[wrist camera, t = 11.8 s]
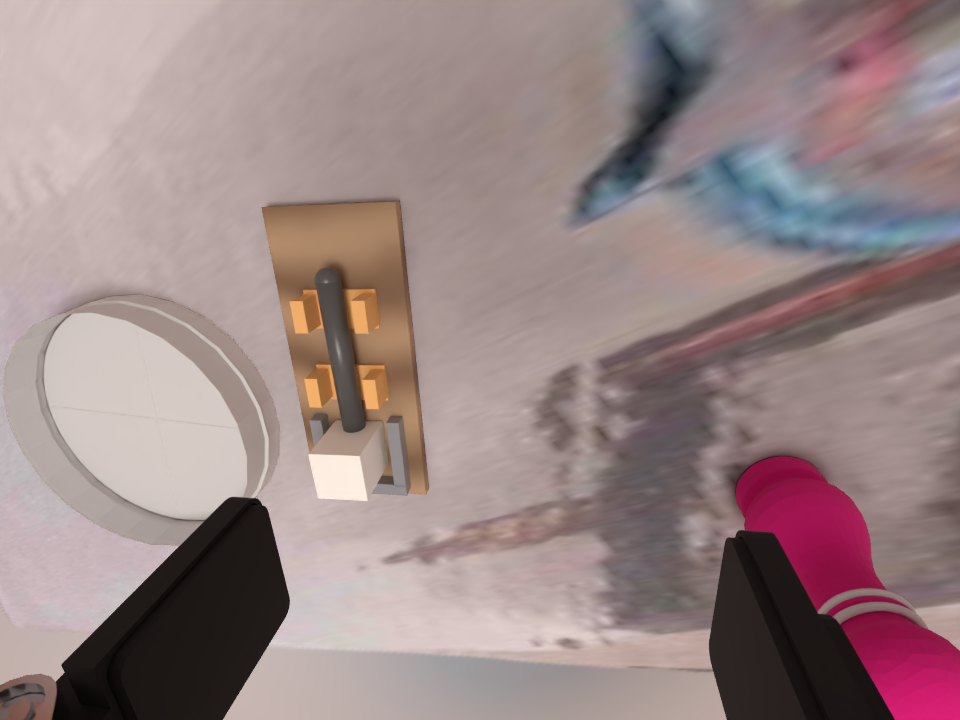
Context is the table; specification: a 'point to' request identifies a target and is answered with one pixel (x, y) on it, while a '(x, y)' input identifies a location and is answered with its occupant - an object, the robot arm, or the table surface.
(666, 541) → the table surface
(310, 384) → the clip
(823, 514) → the pepper mill
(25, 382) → the dish
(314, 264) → the board
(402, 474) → the end holder
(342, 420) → the connector
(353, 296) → the clip
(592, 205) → the table surface
